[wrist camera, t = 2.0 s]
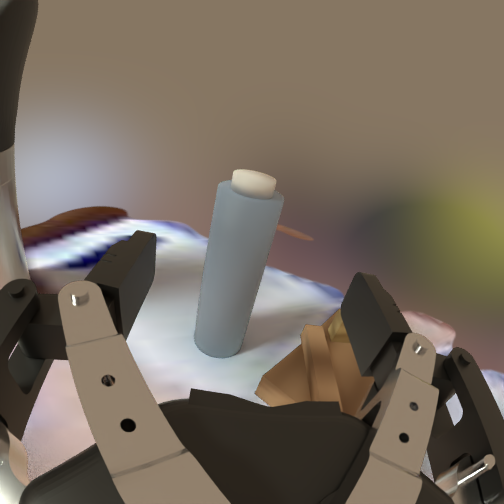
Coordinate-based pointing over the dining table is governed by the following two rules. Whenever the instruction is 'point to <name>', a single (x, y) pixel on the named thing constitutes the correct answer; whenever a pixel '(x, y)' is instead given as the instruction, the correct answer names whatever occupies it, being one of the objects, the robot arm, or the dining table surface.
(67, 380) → the dining table surface
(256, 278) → the flask
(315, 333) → the display stand
